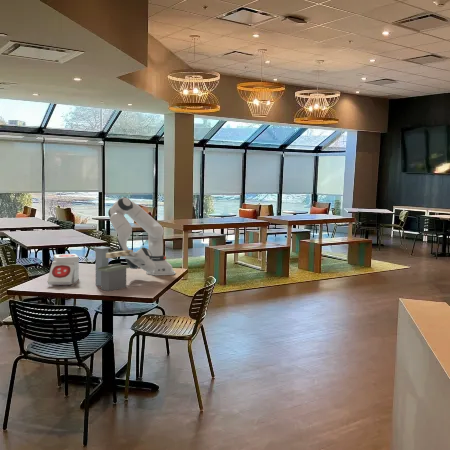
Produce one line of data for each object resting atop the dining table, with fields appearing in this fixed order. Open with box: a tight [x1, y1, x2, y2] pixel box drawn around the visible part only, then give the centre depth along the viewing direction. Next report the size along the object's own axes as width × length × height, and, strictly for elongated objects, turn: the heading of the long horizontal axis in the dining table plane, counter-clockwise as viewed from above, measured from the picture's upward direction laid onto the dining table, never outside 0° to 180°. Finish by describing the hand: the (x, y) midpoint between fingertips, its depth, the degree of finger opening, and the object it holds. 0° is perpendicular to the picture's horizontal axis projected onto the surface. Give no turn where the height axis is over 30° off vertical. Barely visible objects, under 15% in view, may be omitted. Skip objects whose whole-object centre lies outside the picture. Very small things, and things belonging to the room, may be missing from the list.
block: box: [106, 249, 134, 259], centre depth 337 cm, size 22×3×3 cm, turn 146°
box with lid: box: [98, 263, 131, 292], centre depth 334 cm, size 20×9×15 cm, turn 146°
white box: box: [47, 253, 80, 286], centre depth 347 cm, size 19×30×18 cm, turn 5°
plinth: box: [93, 245, 111, 287], centre depth 342 cm, size 8×8×26 cm
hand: (127, 251), depth 343 cm, fingers closed on block, 3 cm apart
